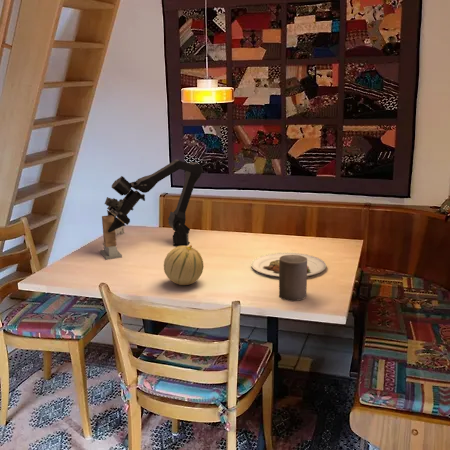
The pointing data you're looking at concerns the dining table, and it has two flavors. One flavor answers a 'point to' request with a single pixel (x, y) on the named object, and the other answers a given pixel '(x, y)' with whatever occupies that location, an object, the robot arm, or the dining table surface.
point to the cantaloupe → (183, 265)
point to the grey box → (110, 252)
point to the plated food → (271, 264)
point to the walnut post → (108, 237)
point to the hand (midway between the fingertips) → (105, 229)
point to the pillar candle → (292, 277)
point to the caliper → (119, 230)
